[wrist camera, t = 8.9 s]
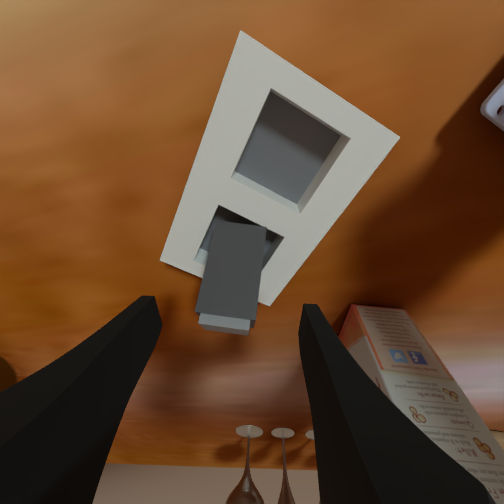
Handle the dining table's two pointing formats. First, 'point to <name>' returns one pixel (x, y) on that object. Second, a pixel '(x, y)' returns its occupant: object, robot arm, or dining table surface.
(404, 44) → the dining table surface
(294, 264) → the socket plate
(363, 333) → the cracker box
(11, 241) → the dining table surface
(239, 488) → the goblet set
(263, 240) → the plug
